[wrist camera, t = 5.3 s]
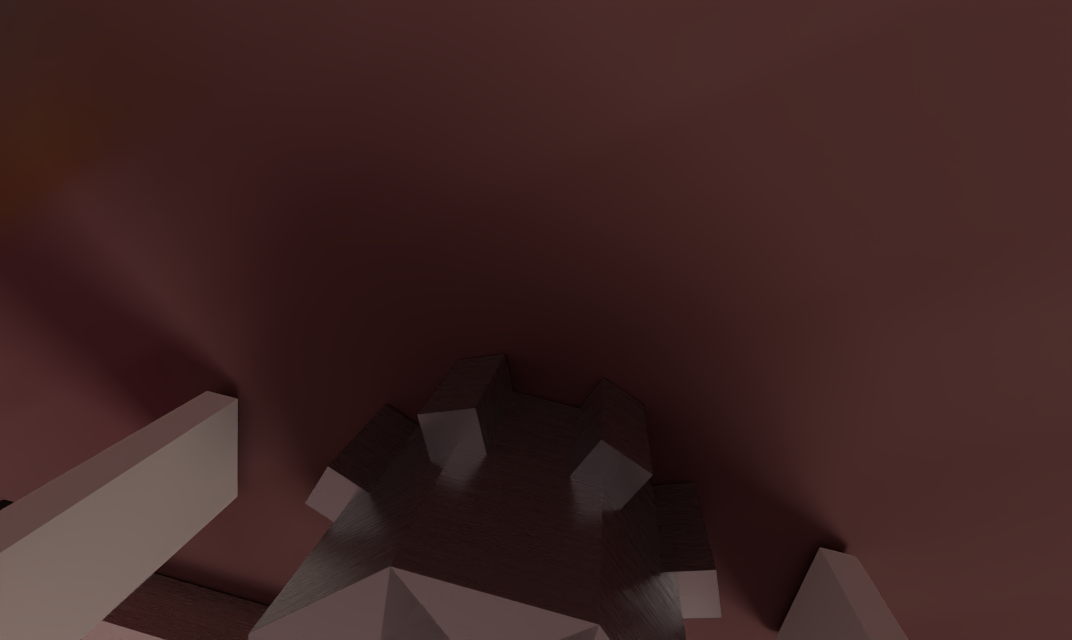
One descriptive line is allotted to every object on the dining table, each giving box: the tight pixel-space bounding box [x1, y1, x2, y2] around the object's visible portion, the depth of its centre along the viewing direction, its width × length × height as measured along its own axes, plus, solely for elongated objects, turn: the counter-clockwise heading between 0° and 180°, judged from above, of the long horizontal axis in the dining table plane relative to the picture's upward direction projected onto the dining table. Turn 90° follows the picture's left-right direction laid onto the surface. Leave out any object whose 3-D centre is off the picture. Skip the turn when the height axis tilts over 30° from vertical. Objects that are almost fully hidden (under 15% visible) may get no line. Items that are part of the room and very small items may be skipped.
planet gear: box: [248, 354, 721, 640], centre depth 9 cm, size 8×8×5 cm
